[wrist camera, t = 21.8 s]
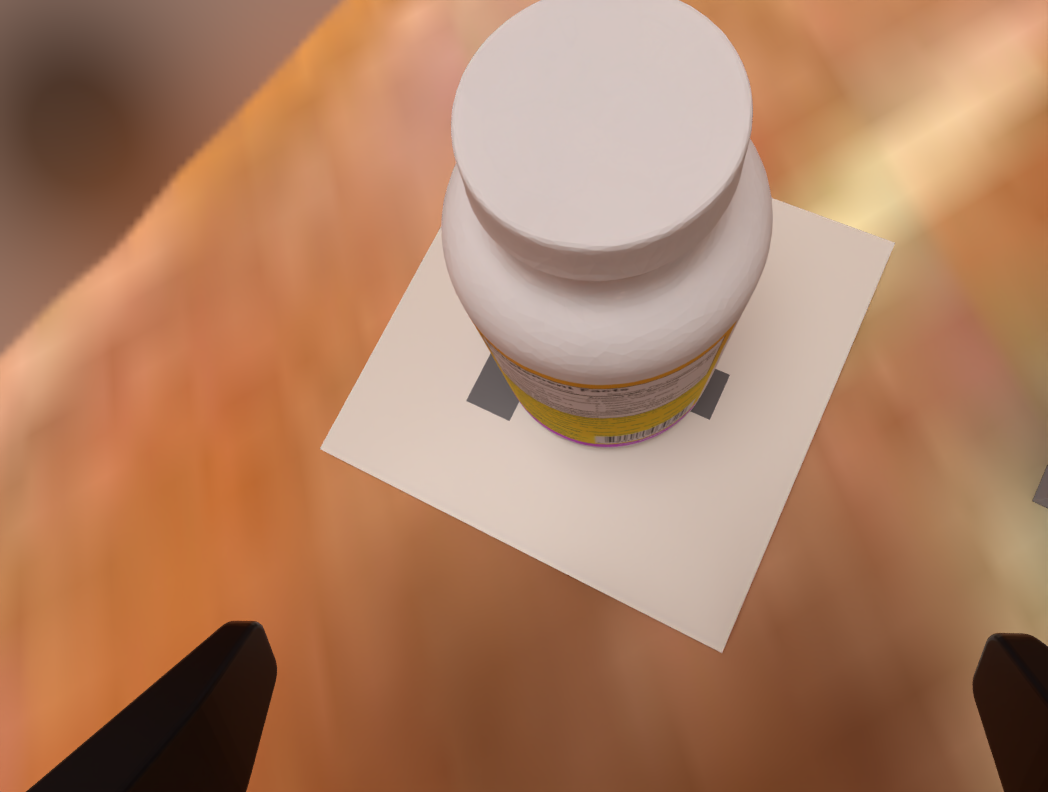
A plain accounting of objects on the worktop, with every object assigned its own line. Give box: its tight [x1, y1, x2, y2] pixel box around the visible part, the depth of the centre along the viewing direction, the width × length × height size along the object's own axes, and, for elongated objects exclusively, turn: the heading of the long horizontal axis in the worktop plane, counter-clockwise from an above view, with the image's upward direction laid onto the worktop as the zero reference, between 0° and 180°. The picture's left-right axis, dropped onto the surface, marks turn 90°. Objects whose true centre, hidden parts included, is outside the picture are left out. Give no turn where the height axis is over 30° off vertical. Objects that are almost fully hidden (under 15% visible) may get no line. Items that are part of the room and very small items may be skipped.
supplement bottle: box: [441, 0, 773, 448], centre depth 17 cm, size 7×7×13 cm
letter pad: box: [320, 198, 895, 653], centre depth 24 cm, size 14×14×1 cm
